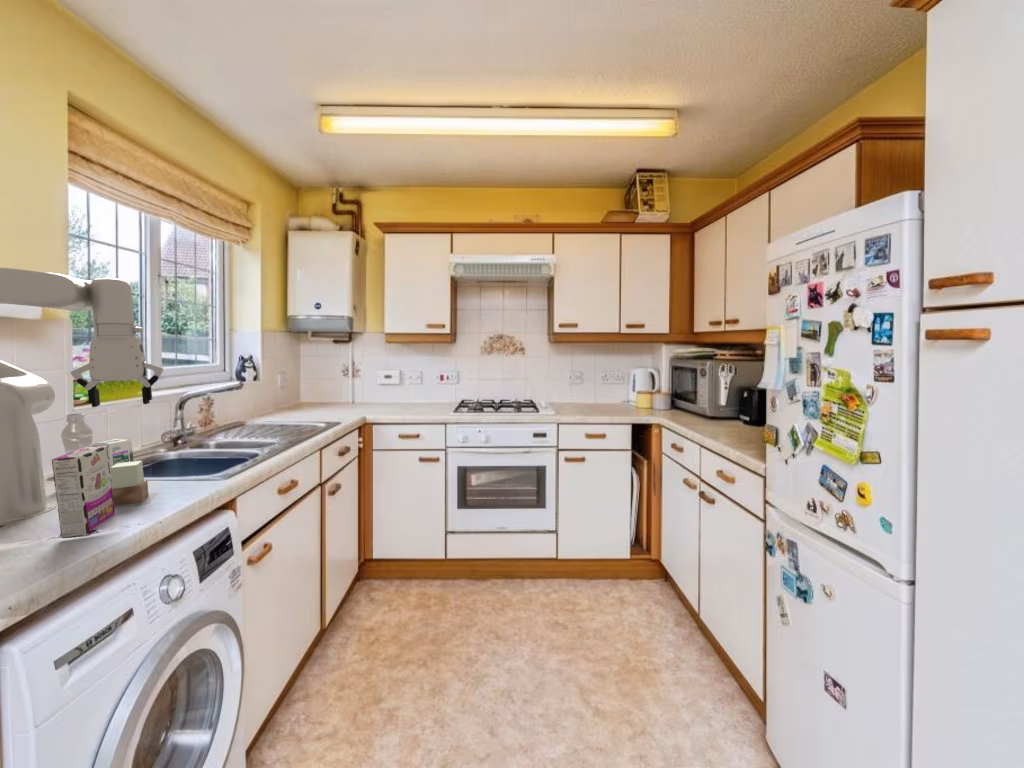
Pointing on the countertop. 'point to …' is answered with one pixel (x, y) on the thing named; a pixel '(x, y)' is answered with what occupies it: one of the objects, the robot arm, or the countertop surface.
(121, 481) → the sage cube
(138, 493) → the walnut block
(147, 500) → the plate
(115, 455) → the syrup box
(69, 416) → the plastic bottle
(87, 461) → the candy bar box
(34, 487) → the robot arm
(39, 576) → the countertop surface
